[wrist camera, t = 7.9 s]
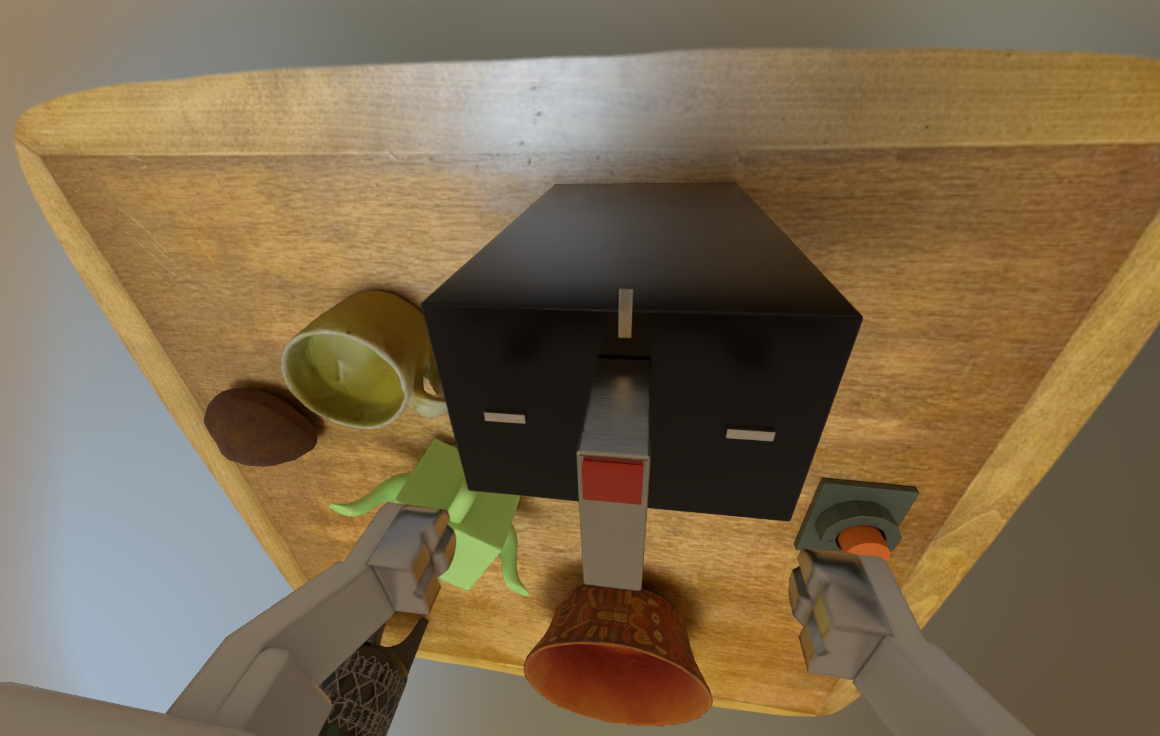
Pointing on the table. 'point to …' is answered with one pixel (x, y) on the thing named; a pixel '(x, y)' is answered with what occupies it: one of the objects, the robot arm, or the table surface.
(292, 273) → the table surface
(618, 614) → the bowl
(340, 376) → the mug
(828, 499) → the housing
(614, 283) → the black lever box
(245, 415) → the potato
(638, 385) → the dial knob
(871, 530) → the button
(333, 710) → the planter
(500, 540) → the teapot
